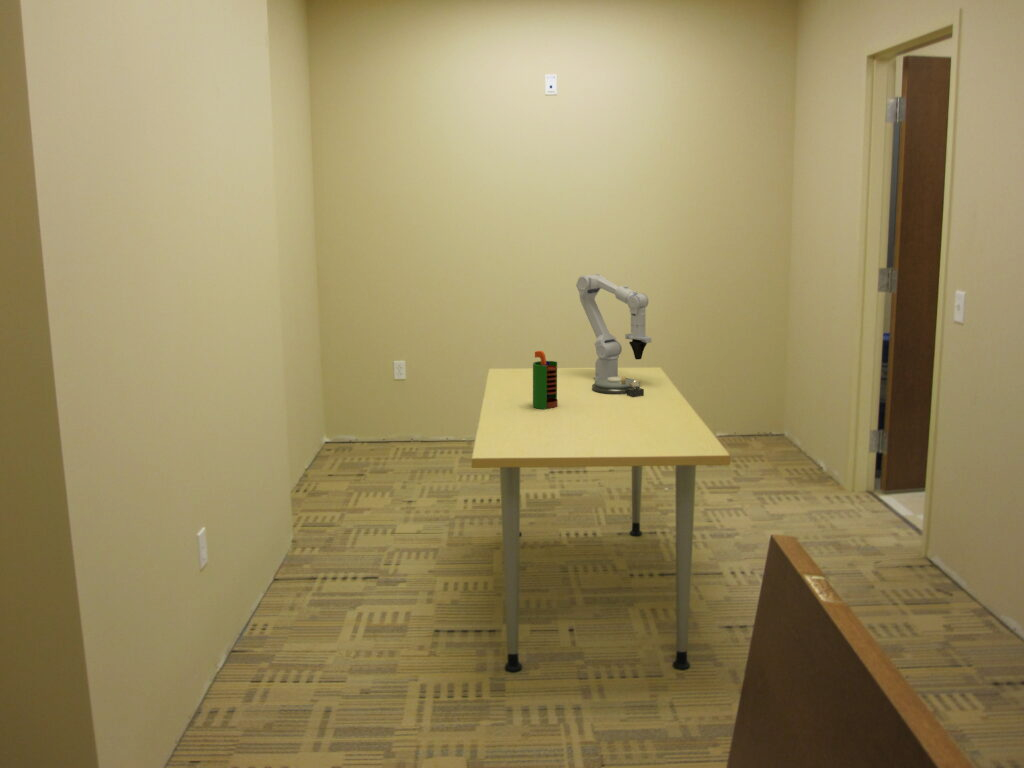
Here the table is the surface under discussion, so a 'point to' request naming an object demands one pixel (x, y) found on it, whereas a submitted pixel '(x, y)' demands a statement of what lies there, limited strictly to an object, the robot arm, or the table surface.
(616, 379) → the disc
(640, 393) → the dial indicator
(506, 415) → the table surface
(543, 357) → the motor
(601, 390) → the plinth
